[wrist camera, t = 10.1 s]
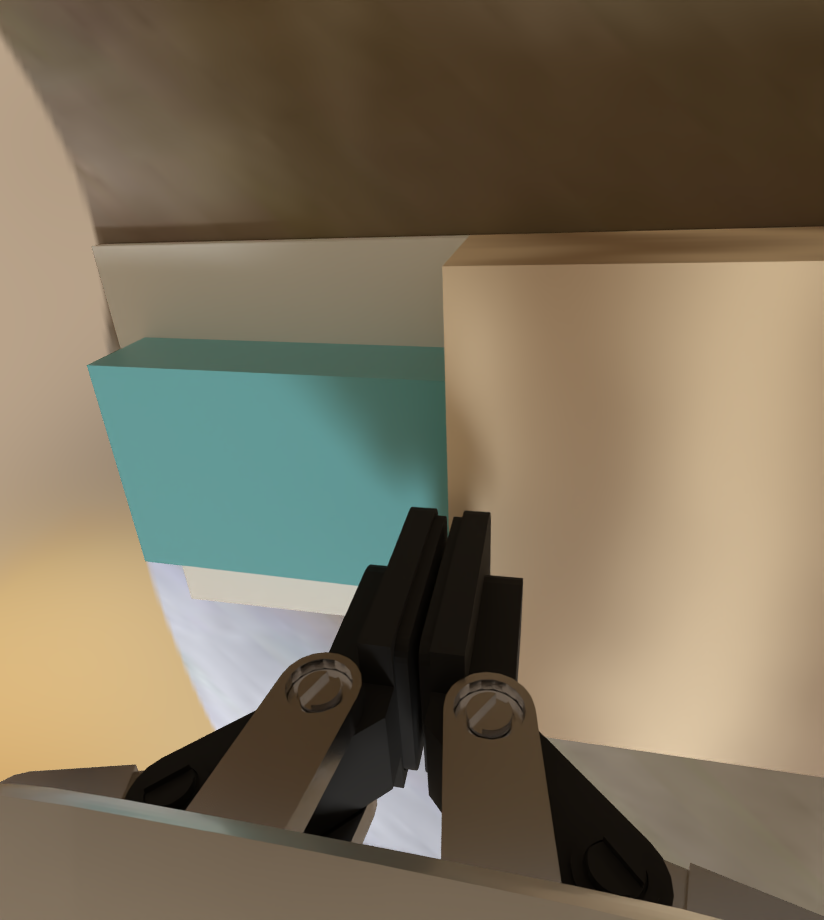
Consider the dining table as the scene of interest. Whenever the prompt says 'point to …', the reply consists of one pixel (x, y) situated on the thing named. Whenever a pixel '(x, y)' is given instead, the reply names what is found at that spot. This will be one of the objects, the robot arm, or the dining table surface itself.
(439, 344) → the mat
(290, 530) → the teal rectangular slab
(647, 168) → the dining table surface
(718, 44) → the dining table surface
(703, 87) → the dining table surface
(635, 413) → the tan wooden flat block
